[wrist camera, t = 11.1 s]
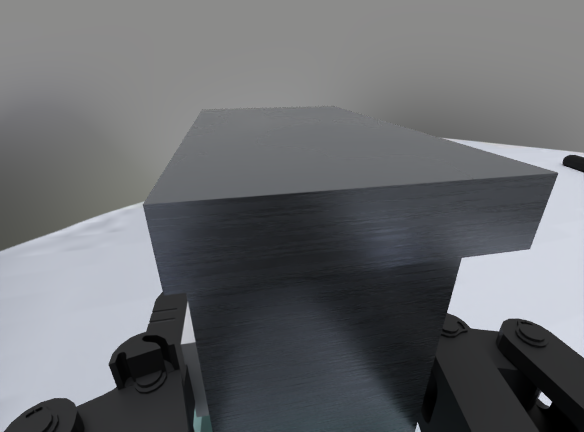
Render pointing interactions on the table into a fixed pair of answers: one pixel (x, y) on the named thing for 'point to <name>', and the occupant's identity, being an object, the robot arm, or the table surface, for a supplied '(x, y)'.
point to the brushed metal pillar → (326, 259)
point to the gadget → (574, 162)
